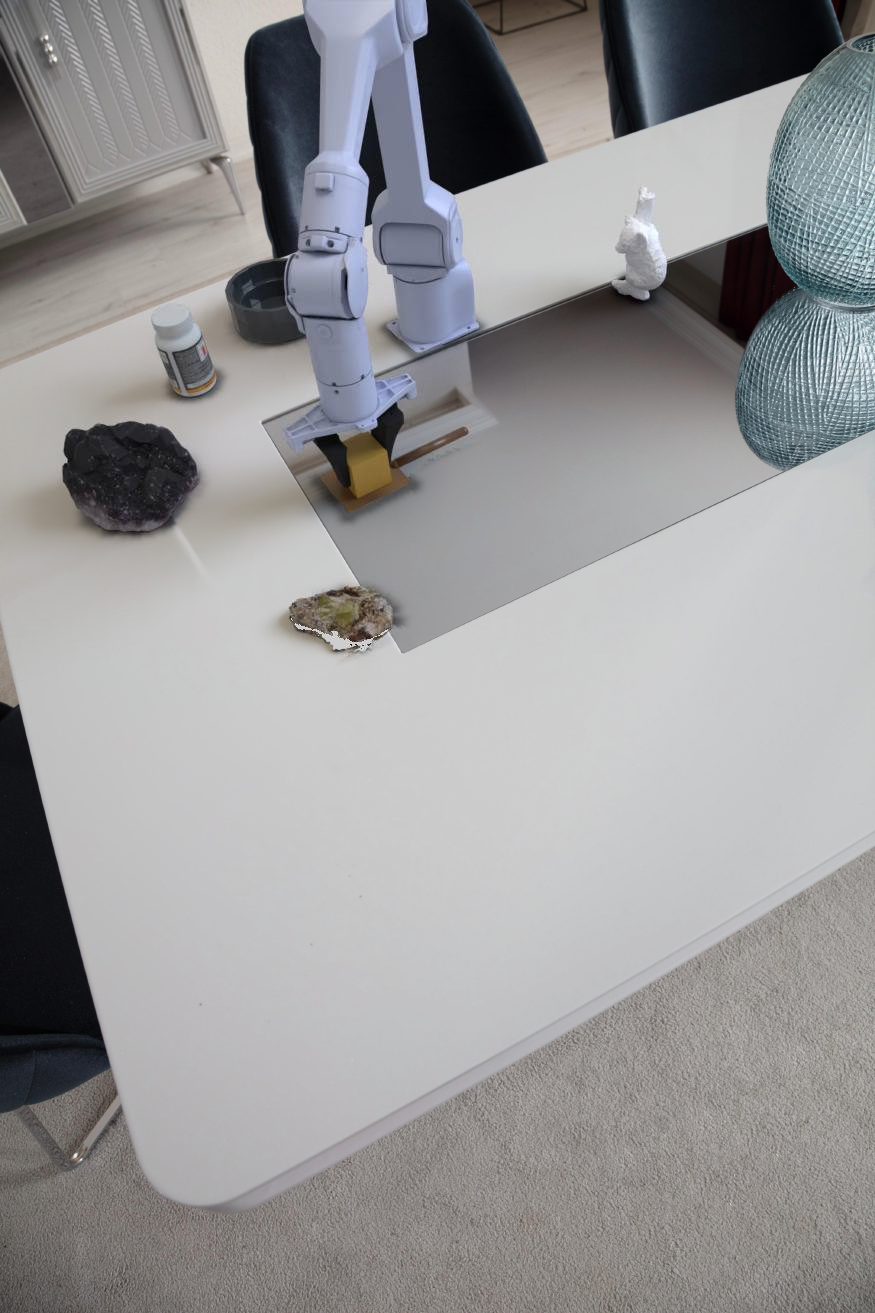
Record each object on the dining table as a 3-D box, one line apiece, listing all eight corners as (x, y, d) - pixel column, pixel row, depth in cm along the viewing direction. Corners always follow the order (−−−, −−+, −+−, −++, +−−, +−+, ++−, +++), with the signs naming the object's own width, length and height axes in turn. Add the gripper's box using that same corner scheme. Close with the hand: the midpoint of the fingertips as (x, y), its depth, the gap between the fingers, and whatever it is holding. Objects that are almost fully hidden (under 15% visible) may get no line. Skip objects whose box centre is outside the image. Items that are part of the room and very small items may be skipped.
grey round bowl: (300, 281, 128) (292, 247, 124) (341, 321, 122) (335, 287, 118) (220, 314, 125) (210, 280, 121) (258, 357, 119) (249, 323, 115)
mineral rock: (402, 575, 91) (383, 622, 85) (406, 611, 94) (388, 660, 88) (298, 570, 93) (272, 616, 87) (305, 606, 96) (280, 653, 90)
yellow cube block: (372, 460, 104) (367, 429, 101) (392, 481, 102) (387, 451, 98) (338, 476, 103) (331, 446, 100) (357, 498, 101) (351, 468, 97)
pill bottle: (222, 369, 118) (199, 299, 110) (211, 398, 114) (187, 328, 106) (179, 370, 118) (154, 300, 111) (167, 399, 115) (140, 328, 107)
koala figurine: (614, 272, 123) (620, 181, 114) (665, 273, 122) (676, 182, 113) (608, 309, 119) (614, 218, 109) (661, 311, 117) (673, 219, 108)
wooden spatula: (451, 418, 108) (450, 409, 107) (484, 450, 105) (484, 441, 104) (319, 481, 104) (317, 473, 103) (349, 516, 100) (347, 508, 99)
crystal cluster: (226, 493, 105) (203, 416, 98) (126, 555, 99) (93, 478, 91) (158, 453, 112) (132, 378, 105) (61, 508, 105) (26, 433, 98)
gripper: (296, 418, 87) (322, 521, 98) (427, 359, 90) (438, 464, 101) (263, 381, 91) (292, 484, 101) (391, 326, 94) (405, 431, 105)
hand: (363, 472), depth 102 cm, fingers closed on yellow cube block, 4 cm apart
